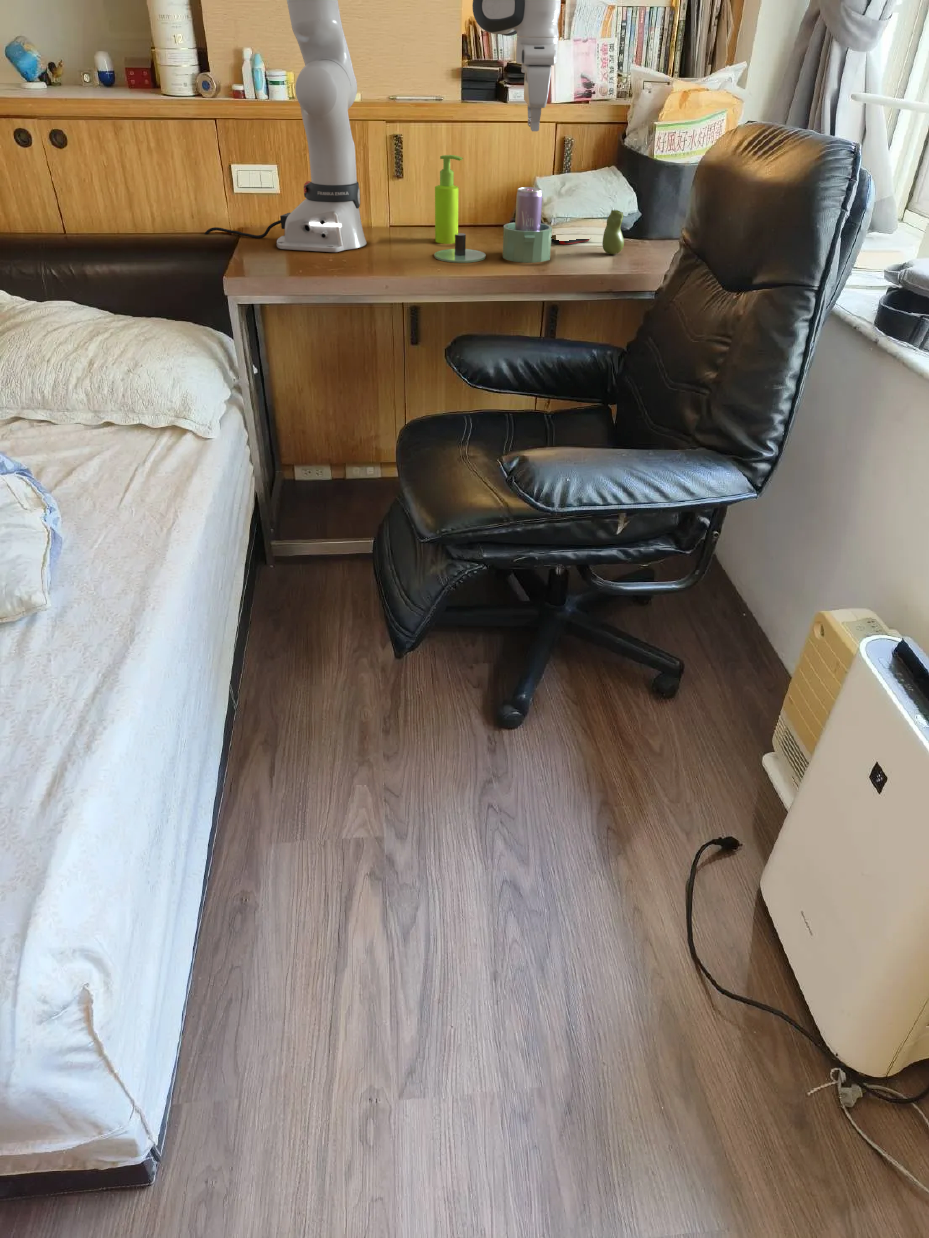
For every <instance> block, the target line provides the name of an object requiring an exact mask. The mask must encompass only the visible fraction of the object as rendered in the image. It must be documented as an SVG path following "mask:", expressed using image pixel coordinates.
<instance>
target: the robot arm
mask: <svg viewBox="0 0 929 1238" xmlns="http://www.w3.org/2000/svg"><path fill="white" fill-rule="evenodd" d="M286 4H287V9H288V15H289V19H290V26H291V29H292V32H293V33H292V34H293V35H294V37H295V39H296V42H297V44H298V47H299V50H300V53H301V57H302V60H303V63H304V66H303V68H302V69H301V70H300V72H299V73H298V76H297V78H296V81H295V87H294V90H295V96H296V100H297V102H298V105H299V108H300V114H301V118H302V124H303V128H304V132H305V136H306V141H307V147H308V148H307V149H308V159H309V169H310V178H311V179H310V180H307V181H305V183H304V184H303V196H304V198H305V199H304V200H302V201H301V202H300V204H298V205H297V206H296V207H295V208H294V209H293V210H292V211H291V212H287V213H284V214H282V215H281V214H280V216H279V218H280V219H279V220H276V221H274V222H272V223H270V224H269V225H268V226H267V227H266V230H265V231H264V232H263V233H262V234H257V235H256V234H252V233H247V232H243V231H238V230H233V229H232V230H231V229H227V228H224V227H211V228H209V229H206V231H205V232H204V235H209V234H210V233H211V232H214V231H220V232H224V233H229V234H232V235H233V234H234V235H237V236H242V237H247V238H251V239H263V238H265V237H266V236H268V234H269V232H270V231H271V229H272V228H274V227H275V226H278V225H280V227H281V230H284V235H281V236H280V237H278V238H277V239H276V247H277V248H278V249H280V250H293V251H307V252H309V251H310V252H324V253H325V252H326V253H338V252H339V253H340V252H343V251H346V250H348V251H349V250H355V249H358V248H362V247H365V246H366V245H367V243H368V242H367V239H366V236H365V233H364V229H363V224H362V219H361V218H362V217H361V212H360V211H361V210H360V207H361V192H360V191H361V190H360V185H359V183H360V182H358V178H357V177H358V176H357V161H356V160H357V159H356V144H355V142H354V138H353V135H352V129H351V123H350V117H349V109H350V108H351V107H352V105H353V104H354V103H355V100H356V98H357V94H358V82H357V78H356V75H355V71H354V67H353V62H352V58H351V54H350V50H349V47H348V42H347V39H346V36H345V32H344V28H343V24H342V18H341V12H340V5H339V0H286ZM561 5H562V0H472V14H473V18H474V20H475V22H476V24H477V26H479V28H481V29H482V30H483V31H484V32H487V33H489V34H492V35H501V36H504V37H512V36H515V35H516V50H515V52H516V53H515V63H517V64H521V69H520V70H521V73H522V74H524V83H523V100H524V102H525V103H526V105H527V126H528V127H530V131H531V132H539V131H540V123H541V122H540V121H541V116H542V109H544V108H546V107H547V104H548V98H549V91H550V85H551V78H552V68H553V67H552V66H555V65H556V64H558V55H559V40H560V39H559V37H560V35H559V25H558V24H559V23H558V22H559V17H560V14H561V8H562V7H561Z"/></svg>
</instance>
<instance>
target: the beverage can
mask: <svg viewBox="0 0 929 1238" xmlns="http://www.w3.org/2000/svg"><path fill="white" fill-rule="evenodd" d="M542 191H543V189H542V188H540V187H536V186H535V187H534V186H524V187H523V186H522V187H519V188H517V191H516V200H515V201H516V202H515V230H519V231H540V224H541V223H542V209H543V208H542V207H543V192H542Z"/></svg>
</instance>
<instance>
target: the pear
mask: <svg viewBox="0 0 929 1238" xmlns="http://www.w3.org/2000/svg"><path fill="white" fill-rule="evenodd" d="M623 220H624V212H622V211H620V210H618V209H611V211H610V214H609V215H608V217H607V218H606V226H605V229H604V230H603V235H602V236H603V237H602V245H601V246H602V249H603V251H604V252H605V253H606V254H608V255H617V254H619V253H620V252H622V251H623V249H624V245H625V239H624V236H623V232H622V229H621V226H622V223H623Z"/></svg>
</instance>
